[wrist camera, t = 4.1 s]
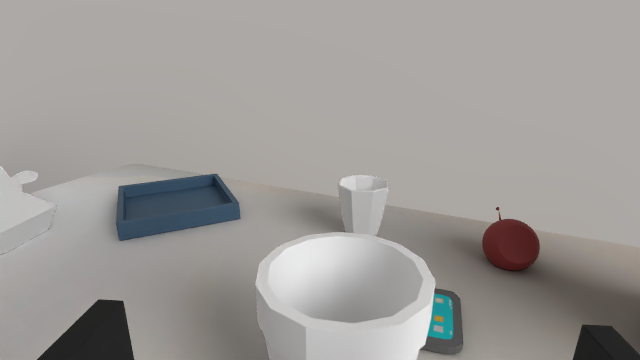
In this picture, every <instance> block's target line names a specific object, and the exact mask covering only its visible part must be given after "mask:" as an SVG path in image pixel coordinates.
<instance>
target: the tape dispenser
mask: <svg viewBox="0 0 640 360" xmlns="http://www.w3.org/2000/svg"><path fill="white" fill-rule="evenodd" d="M37 177H38V174H37V172H33V171H28V170H25V171H22V172H19V173H17V174H16V175H14V176H13V177H9V175H8V174H7V173H6V172H5V170H4V169H3V168H2V167H1V166H0V254H5V253H7V252H9V251H11V250H12V249H14V248H16V247H18V246H20V245H22V244H23V243H25V242H27V241H29V240H31V239H32V238H34V237H36V236H38V235H40V234H41V233H43V232H45V231H47V230H49V227H50V224H51V222H52V219H53V216H54V213H55V211H56V208H57V205H56V204H53V203H50V202H48V201H45V200H42V199H40V198H37V197H34V196H32V195H29V194H26V193H23V192H22V190H23V186H22V185H21V184H24V183H29V182H31V181H34V180H36V179H37Z"/></svg>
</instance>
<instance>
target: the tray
mask: <svg viewBox="0 0 640 360" xmlns="http://www.w3.org/2000/svg"><path fill="white" fill-rule="evenodd" d="M236 219H240V209H239V203H238V201H237V200H236V198H235V197H234V196H233V194H232V193H231V192H230V190H229V189H228V188H227V186H226V185H225V184H224V182H223V181H222V180H221V178H220V177H219V176H218V175H217V174H210V175H202V176H195V177H187V178H179V179H171V180H164V181H156V182H148V183H140V184H133V185H125V186H119V190H118V206H117V222H116V224H117V230H118V235H119V240H120V241H121V240H126V239H132V238H137V237H143V236H148V235H154V234H159V233H165V232H170V231H176V230H181V229H186V228H192V227H197V226H203V225H208V224H214V223H219V222H225V221H230V220H236Z"/></svg>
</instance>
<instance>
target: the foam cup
mask: <svg viewBox="0 0 640 360" xmlns="http://www.w3.org/2000/svg"><path fill="white" fill-rule="evenodd" d="M434 289H435V279H434V277H433V276H432V274H431V272H430V270H429V269H428V267H427V265H426V263H425V262H424V260H423V259H422V258H420V257H419V256H417V255H416V254H414V253H413V252H411V251H410V250H408V249H407V248H405V247H403V246H402V245H400V244H398V243H395V242H392V241H389V240H385V239H382V238H379V237H376V236H373V235H369V234H358V233H346V232H331V233H322V234H314V235H306V236H303V237H300V238H298V239H295V240H293V241H290V242H287V243H285V244H282V245H279V246H278V247H277V248H276V249H274V250H273V251H272V252H271V253H270V254H269V255H268V256H267V257H265V258H264V259H263V260H262V261H261V262H260V264H259V269H258V273H257V278H256V283H255V290H256V306H257V322H258V324H259V326H260V328H261V330H262V332H263V334H264V337H265V341H266V346H267V350H268V355H269V360H417V356H418V353H419V349H421V348H422V347H423V346H424V345H425V343H426V338H427V334H428V330H429V325H430V321H431V315H432V307H433V298H434Z"/></svg>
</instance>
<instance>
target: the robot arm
mask: <svg viewBox="0 0 640 360" xmlns="http://www.w3.org/2000/svg"><path fill="white" fill-rule="evenodd" d="M37 360H134V356H133V351H132V346H131V340H130V335H129V329H128V324H127V318H126V313H125V307H124V302H123V301H118V300H98V301H97V302H95V303H94V304H93V305H92V306H91V307H90V308H89V309H88V310H87V311H86V312H85V313H84V314H83V315H82V316H81V317H80V318H79V319H78V320H77V321H76V322H75V323H74V324H73V325H72V326H71V327H70V328H69V329H68V330H67V331H66V332H65V333H64V334H63V335H62V336H61V337H60V338H59V339H58V340H57V341H56V342H54V343H53V344H52V345H51V346H50V347H49V348H48V349H47V350H46V351H45V352H44V353H43V354H42V355H41V356H40V357H39V358H38V359H37ZM573 360H640V355H639V354H638V353H637V352H636V351H635V350H634V349H633V348H632V347H631V346H630V345H629V344H628V343H627V342H626V340H625V339H624V338H623V337H622V336H621V335H620V334H619V333H618V332H617V331H616V330H615V329H614V328H613V327H612V326H599V325H582V328H581V332H580V335H579V339H578V343H577V346H576V350H575V353H574V357H573Z"/></svg>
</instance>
